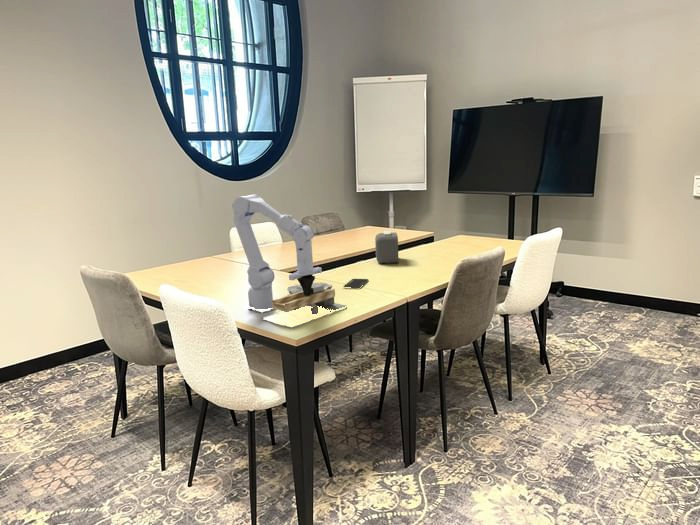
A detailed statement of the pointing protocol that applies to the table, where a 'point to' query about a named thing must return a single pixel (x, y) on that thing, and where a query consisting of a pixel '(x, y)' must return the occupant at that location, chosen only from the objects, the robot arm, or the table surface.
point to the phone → (356, 283)
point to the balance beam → (304, 300)
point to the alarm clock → (387, 247)
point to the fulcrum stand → (334, 307)
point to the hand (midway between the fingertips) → (307, 295)
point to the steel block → (316, 289)
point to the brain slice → (298, 288)
